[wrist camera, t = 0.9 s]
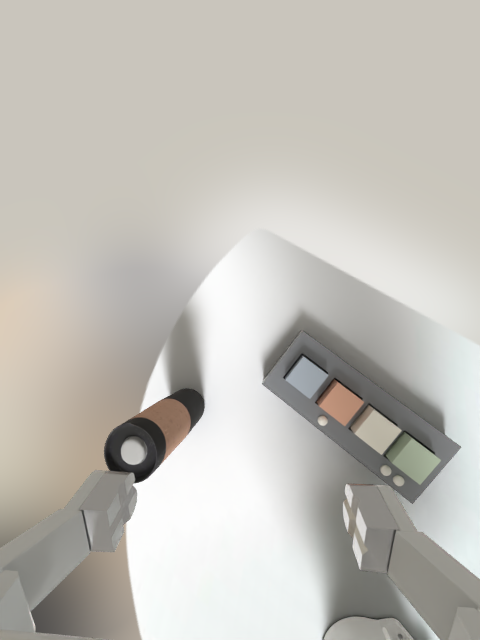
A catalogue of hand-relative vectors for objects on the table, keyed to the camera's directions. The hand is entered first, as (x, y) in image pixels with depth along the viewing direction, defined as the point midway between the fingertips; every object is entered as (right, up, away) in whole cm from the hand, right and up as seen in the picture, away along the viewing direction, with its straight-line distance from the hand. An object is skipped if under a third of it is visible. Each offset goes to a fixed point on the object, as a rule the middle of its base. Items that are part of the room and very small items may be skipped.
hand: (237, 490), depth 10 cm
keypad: (+20, -9, +37) cm, 43 cm away
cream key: (+23, -11, +34) cm, 42 cm away
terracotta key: (+17, -7, +35) cm, 40 cm away
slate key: (+12, -3, +36) cm, 38 cm away
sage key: (+28, -15, +33) cm, 46 cm away
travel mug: (-10, -11, +42) cm, 45 cm away
